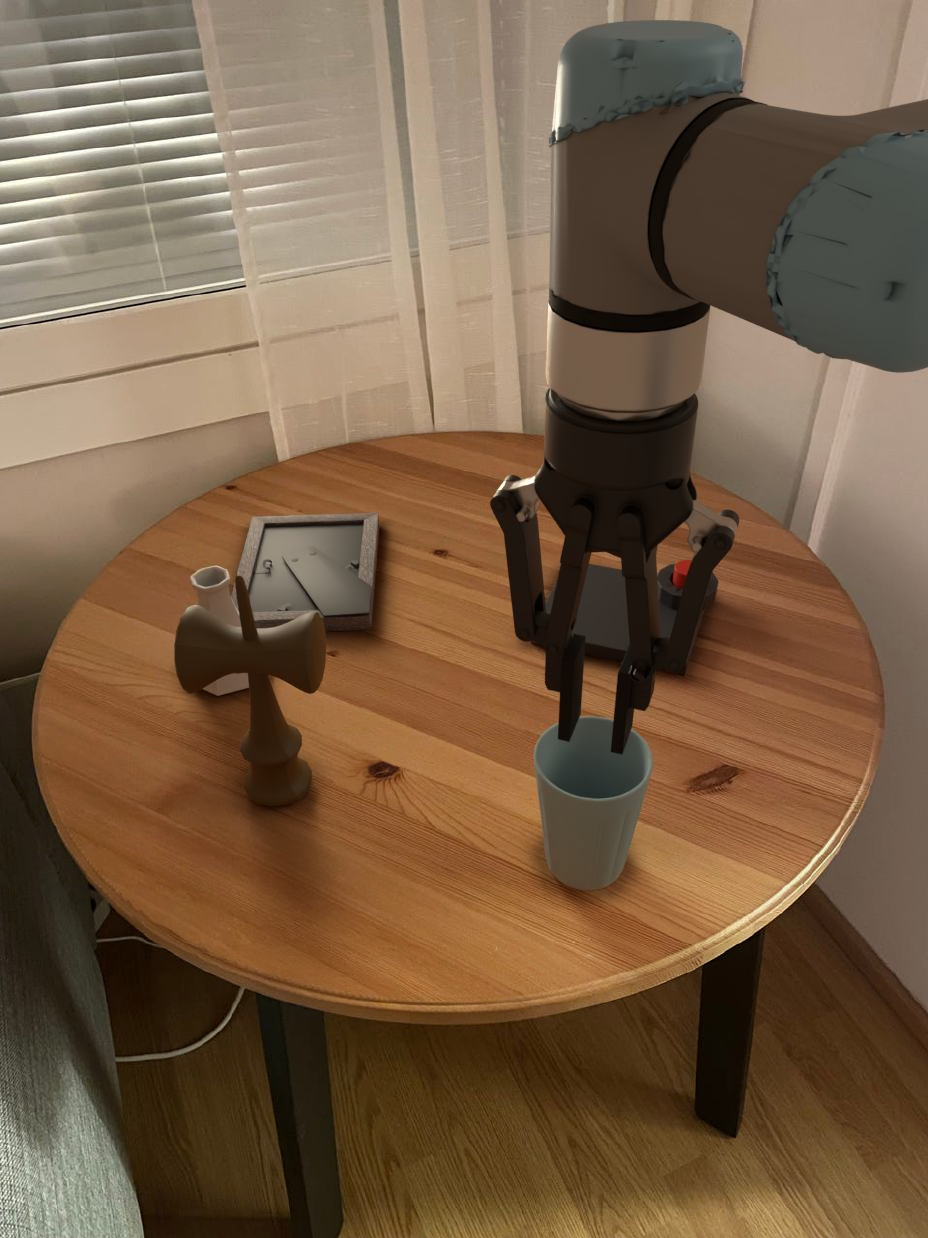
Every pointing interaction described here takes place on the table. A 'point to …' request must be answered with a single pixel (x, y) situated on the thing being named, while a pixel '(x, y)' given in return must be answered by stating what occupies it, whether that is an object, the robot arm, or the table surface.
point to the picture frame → (311, 569)
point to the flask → (219, 603)
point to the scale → (624, 611)
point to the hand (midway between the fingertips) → (595, 732)
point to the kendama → (257, 686)
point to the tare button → (681, 573)
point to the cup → (589, 800)
